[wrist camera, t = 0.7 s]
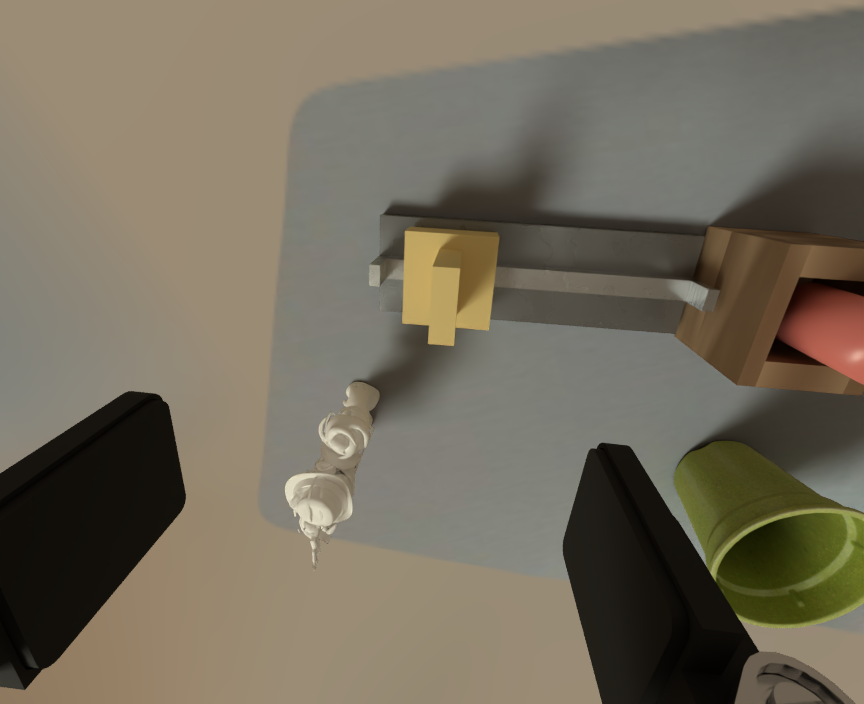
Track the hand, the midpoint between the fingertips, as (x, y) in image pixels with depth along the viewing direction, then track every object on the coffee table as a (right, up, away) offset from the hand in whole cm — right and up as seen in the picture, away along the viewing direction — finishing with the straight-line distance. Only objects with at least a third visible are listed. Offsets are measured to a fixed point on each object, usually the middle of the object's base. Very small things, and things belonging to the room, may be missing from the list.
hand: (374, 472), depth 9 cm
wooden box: (+20, +7, +17) cm, 27 cm away
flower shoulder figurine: (-4, -1, +23) cm, 23 cm away
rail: (+7, +8, +17) cm, 20 cm away
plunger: (+20, +5, +12) cm, 24 cm away
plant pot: (+23, -6, +22) cm, 32 cm away
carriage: (+2, +8, +16) cm, 18 cm away
